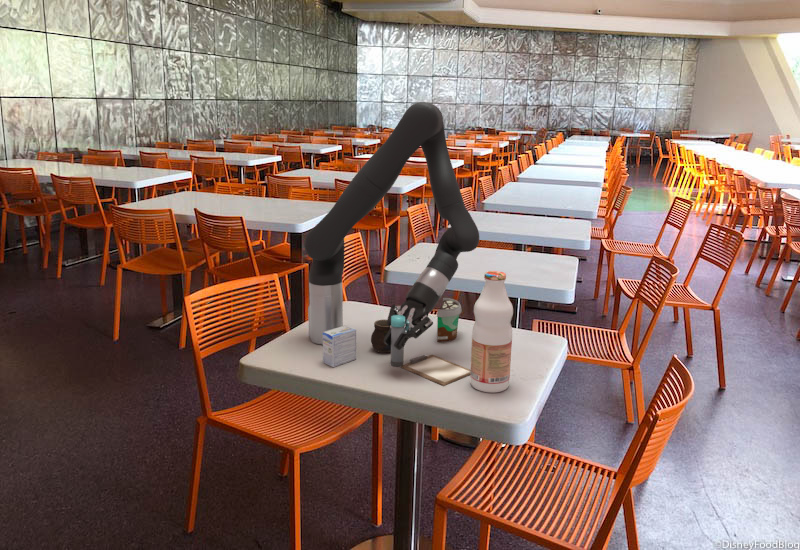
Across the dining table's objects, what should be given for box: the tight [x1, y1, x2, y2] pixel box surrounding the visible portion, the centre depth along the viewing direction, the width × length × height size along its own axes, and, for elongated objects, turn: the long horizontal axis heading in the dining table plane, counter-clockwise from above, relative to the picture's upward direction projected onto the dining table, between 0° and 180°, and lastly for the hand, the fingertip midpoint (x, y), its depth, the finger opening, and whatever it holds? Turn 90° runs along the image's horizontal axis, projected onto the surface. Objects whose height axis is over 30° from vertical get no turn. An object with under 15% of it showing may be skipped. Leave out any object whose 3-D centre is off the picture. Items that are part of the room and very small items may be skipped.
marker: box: [390, 315, 405, 368], centre depth 158 cm, size 3×3×12 cm
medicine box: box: [322, 325, 357, 368], centre depth 166 cm, size 8×4×9 cm, turn 135°
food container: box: [436, 297, 462, 343], centre depth 184 cm, size 12×6×10 cm, turn 168°
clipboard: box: [400, 354, 471, 387], centre depth 162 cm, size 15×12×1 cm
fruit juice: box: [469, 270, 514, 394], centre depth 151 cm, size 9×9×28 cm
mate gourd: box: [370, 319, 391, 354], centre depth 174 cm, size 7×8×10 cm
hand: (391, 345), depth 157 cm, fingers closed on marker, 3 cm apart
